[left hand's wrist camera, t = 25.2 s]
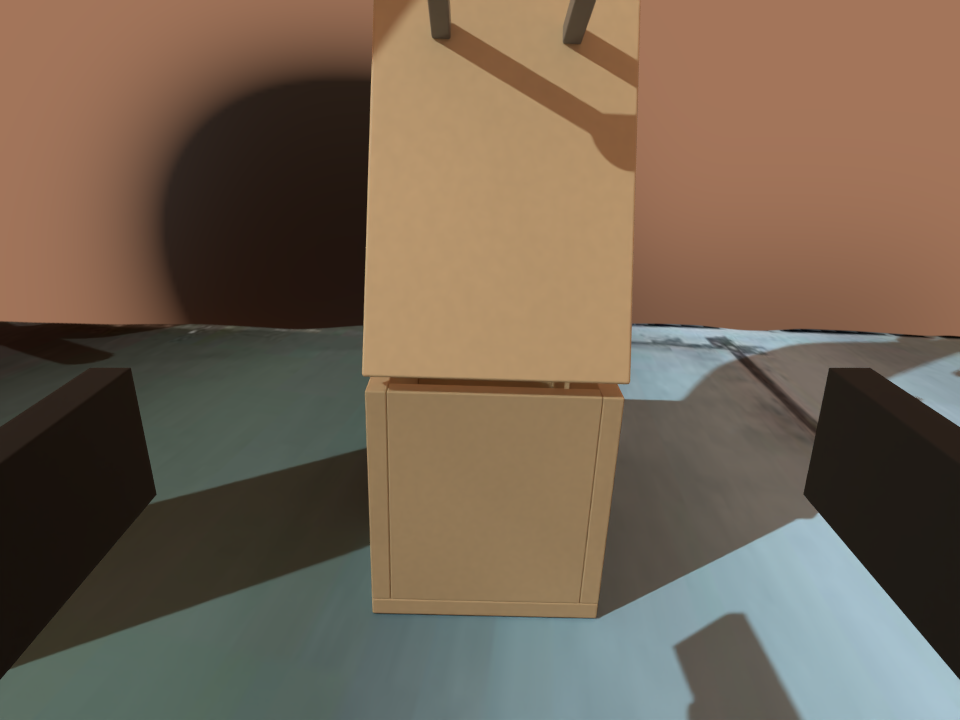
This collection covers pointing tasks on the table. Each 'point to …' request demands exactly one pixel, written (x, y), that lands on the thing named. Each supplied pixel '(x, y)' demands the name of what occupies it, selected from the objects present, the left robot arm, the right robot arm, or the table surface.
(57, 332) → the table surface
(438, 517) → the chest
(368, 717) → the table surface
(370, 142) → the lid
